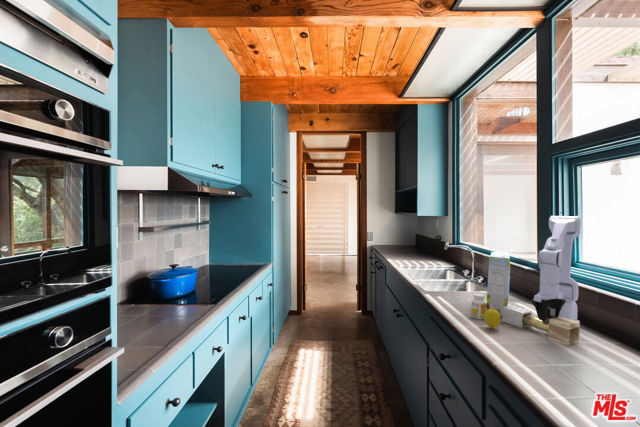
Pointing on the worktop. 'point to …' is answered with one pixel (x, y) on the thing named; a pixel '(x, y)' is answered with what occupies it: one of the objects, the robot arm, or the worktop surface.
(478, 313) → the supplement bottle
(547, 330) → the tube
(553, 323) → the socket block
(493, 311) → the lemon
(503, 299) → the snack box
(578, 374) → the worktop surface
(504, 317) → the sleeve
